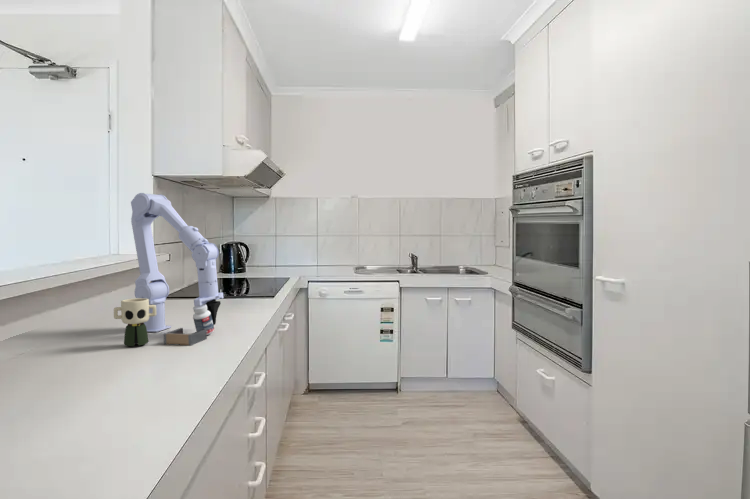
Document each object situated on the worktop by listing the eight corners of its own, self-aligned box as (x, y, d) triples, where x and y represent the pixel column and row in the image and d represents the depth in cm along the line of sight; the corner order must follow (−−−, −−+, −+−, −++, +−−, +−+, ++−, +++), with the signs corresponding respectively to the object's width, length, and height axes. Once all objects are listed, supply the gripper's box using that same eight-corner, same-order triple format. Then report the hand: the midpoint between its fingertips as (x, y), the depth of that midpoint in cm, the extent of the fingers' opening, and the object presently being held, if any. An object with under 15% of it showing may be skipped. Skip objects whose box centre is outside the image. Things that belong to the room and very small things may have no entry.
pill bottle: (206, 337, 152) (200, 310, 149) (193, 335, 154) (186, 309, 151) (218, 329, 156) (212, 303, 154) (205, 327, 159) (199, 302, 156)
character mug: (114, 350, 136) (112, 303, 136) (115, 344, 143) (114, 299, 142) (157, 346, 141) (156, 300, 140) (157, 340, 147) (155, 296, 146)
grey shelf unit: (164, 344, 143) (163, 333, 143) (180, 337, 151) (180, 327, 151) (191, 345, 141) (190, 334, 141) (206, 338, 149) (206, 328, 149)
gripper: (207, 284, 149) (211, 329, 149) (230, 278, 163) (233, 319, 163) (186, 285, 150) (189, 330, 151) (210, 279, 164) (214, 320, 165)
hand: (211, 324), depth 157 cm, fingers closed, pressing on pill bottle
